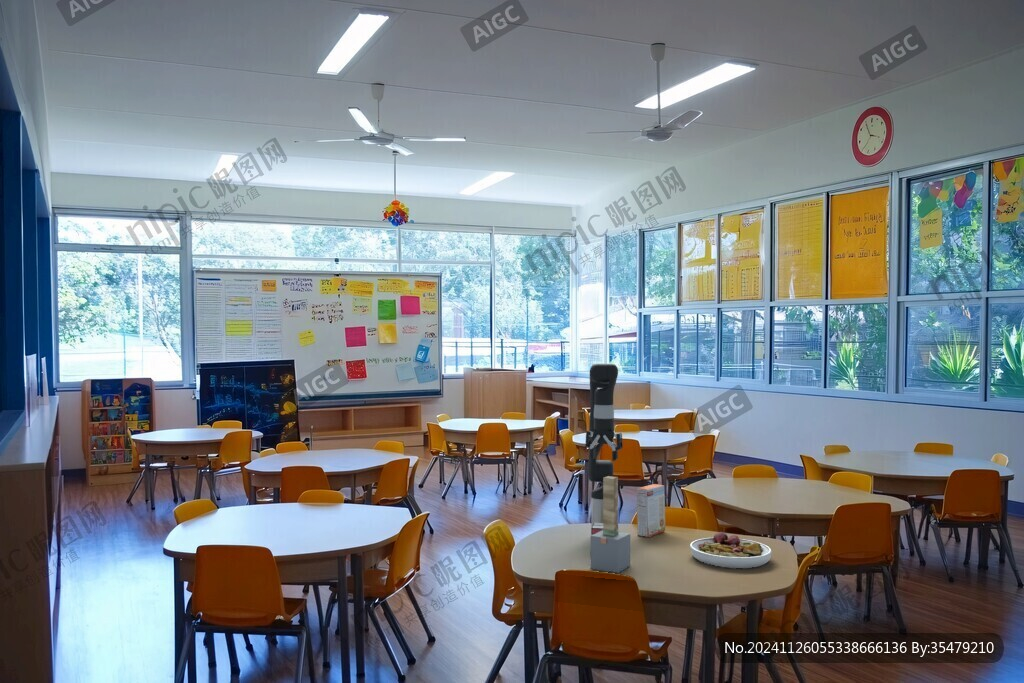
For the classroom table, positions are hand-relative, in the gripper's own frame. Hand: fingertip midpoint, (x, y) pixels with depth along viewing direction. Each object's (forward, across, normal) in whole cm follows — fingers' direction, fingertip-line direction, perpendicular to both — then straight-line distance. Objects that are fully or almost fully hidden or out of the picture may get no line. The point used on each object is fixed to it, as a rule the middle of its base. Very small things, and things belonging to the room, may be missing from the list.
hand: (603, 459), depth 281 cm
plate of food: (+40, -38, -33) cm, 64 cm away
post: (+30, -4, +2) cm, 31 cm away
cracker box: (+40, +3, -54) cm, 68 cm away
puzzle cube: (+40, +8, -18) cm, 45 cm away
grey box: (+39, -4, +2) cm, 40 cm away
